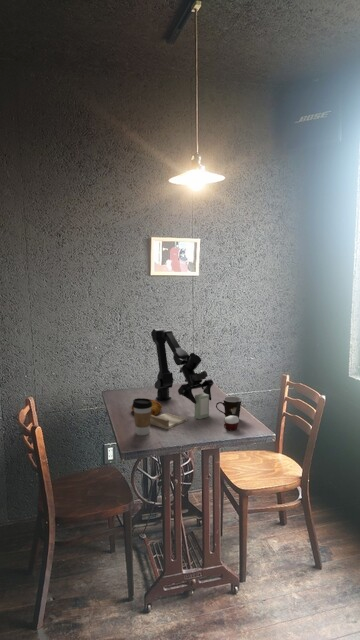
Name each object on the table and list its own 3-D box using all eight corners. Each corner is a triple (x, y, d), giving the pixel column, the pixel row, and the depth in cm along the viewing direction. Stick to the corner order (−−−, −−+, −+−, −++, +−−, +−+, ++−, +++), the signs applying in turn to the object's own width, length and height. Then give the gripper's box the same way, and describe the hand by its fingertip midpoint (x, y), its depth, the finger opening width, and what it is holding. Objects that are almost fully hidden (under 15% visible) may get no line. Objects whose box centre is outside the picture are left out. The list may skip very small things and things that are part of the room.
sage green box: (194, 417, 206) (194, 395, 205) (204, 414, 210) (204, 393, 209) (199, 419, 203) (199, 397, 202) (208, 416, 207) (209, 395, 205)
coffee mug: (242, 417, 206) (243, 397, 205) (239, 423, 198) (239, 402, 197) (219, 414, 210) (219, 395, 208) (215, 420, 202) (215, 400, 200)
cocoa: (224, 433, 187) (224, 407, 185) (220, 427, 193) (219, 402, 191) (244, 430, 189) (244, 404, 187) (240, 424, 195) (239, 400, 193)
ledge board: (165, 414, 210) (165, 407, 209) (186, 420, 201) (186, 412, 201) (146, 422, 199) (146, 414, 198) (167, 429, 191) (167, 420, 190)
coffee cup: (133, 429, 190) (132, 397, 188) (152, 429, 191) (151, 396, 189) (132, 436, 182) (132, 403, 180) (152, 436, 183) (152, 402, 181)
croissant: (141, 423, 204) (142, 408, 202) (127, 410, 216) (127, 396, 214) (167, 417, 212) (167, 402, 210) (151, 404, 224) (152, 390, 222)
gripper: (181, 368, 202) (194, 396, 194) (211, 363, 212) (225, 389, 205) (172, 381, 209) (185, 408, 202) (202, 375, 220) (215, 401, 212)
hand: (203, 401), depth 205 cm, fingers open, 9 cm apart
